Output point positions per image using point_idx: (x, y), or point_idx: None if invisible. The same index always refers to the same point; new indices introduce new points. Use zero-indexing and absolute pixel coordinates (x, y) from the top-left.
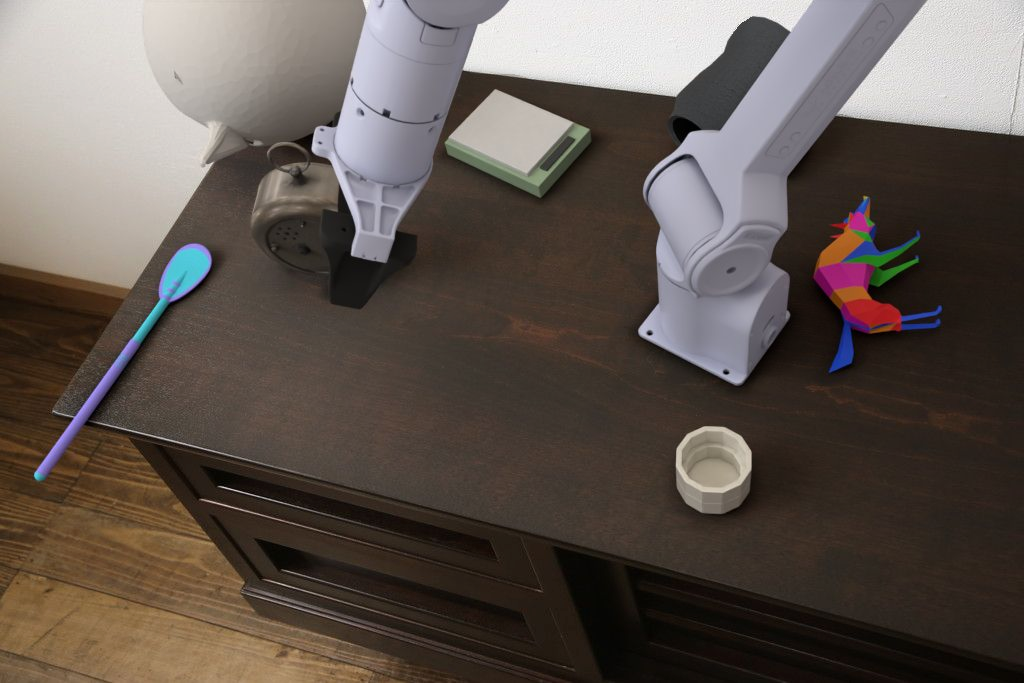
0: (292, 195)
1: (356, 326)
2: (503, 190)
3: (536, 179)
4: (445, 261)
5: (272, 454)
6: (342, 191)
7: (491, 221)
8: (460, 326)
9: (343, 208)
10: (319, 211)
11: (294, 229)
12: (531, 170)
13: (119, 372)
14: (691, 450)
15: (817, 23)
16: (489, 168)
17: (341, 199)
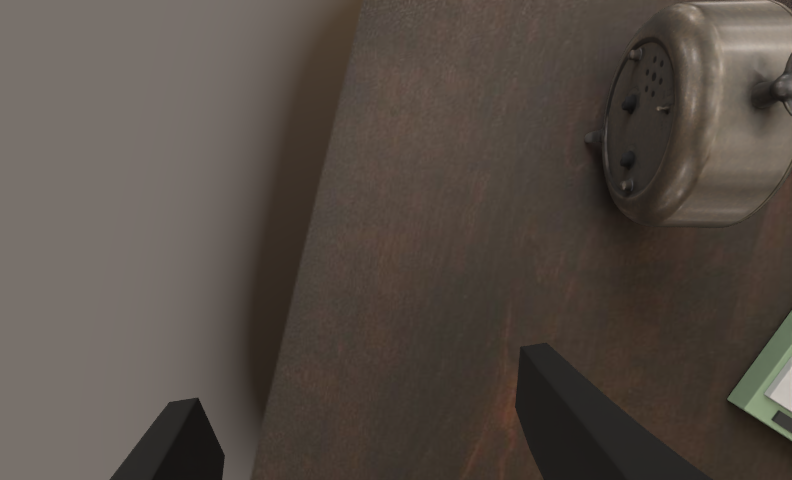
0: (723, 86)
1: (529, 179)
2: (745, 348)
3: (757, 405)
4: (627, 282)
5: (347, 106)
6: (578, 431)
7: (691, 336)
8: (523, 311)
9: (540, 385)
10: (683, 143)
11: (658, 90)
12: (774, 401)
13: None
14: None
15: None
16: (787, 333)
17: (557, 405)
